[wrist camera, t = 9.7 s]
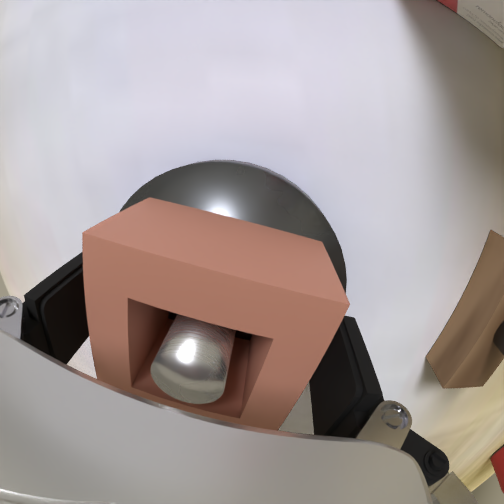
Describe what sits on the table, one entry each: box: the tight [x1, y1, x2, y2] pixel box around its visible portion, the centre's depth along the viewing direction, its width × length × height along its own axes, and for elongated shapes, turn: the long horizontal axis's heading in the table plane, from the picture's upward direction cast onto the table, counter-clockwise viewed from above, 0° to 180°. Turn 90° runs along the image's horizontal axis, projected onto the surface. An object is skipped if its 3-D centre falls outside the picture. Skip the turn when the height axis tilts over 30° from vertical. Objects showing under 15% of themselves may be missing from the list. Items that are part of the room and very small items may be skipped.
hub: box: [120, 160, 347, 404], centre depth 10 cm, size 11×11×7 cm
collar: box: [83, 197, 350, 431], centre depth 10 cm, size 7×7×4 cm
